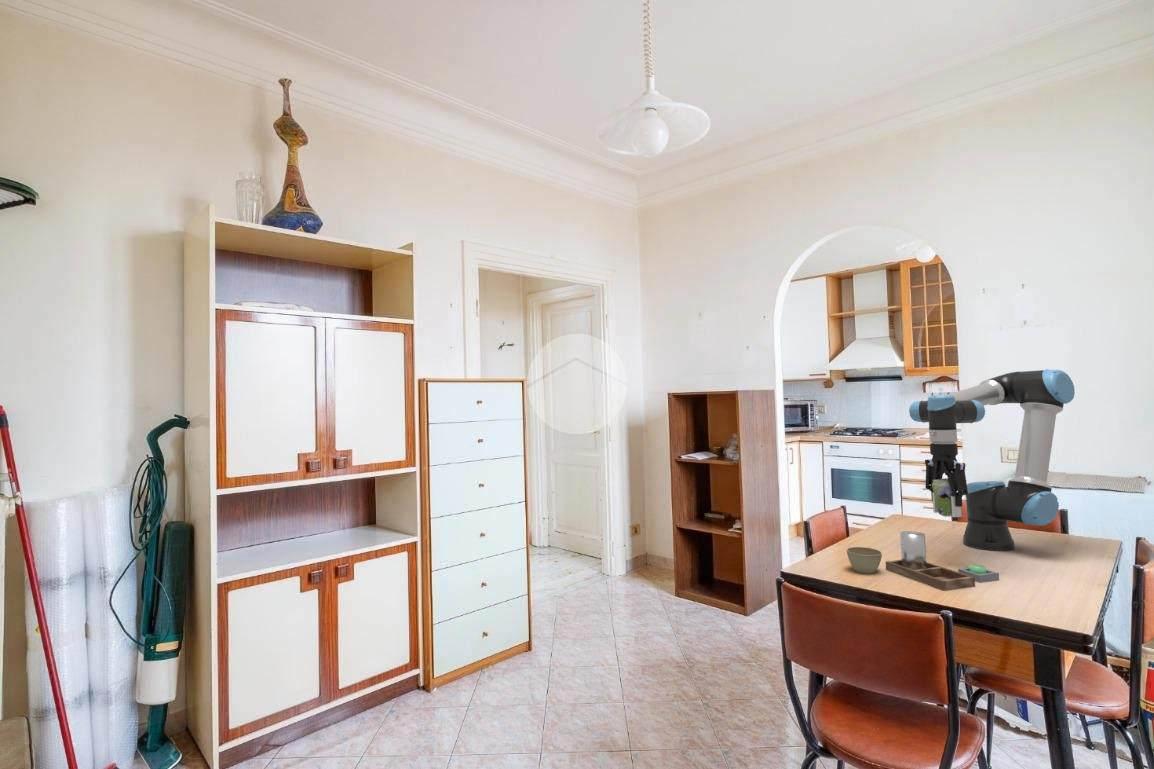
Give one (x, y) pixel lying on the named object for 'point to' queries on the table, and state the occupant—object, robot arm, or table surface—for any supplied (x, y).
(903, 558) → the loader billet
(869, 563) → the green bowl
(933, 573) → the brown compartment tray
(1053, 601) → the table surface
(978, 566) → the button
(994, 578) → the gray soap dish
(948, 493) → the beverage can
